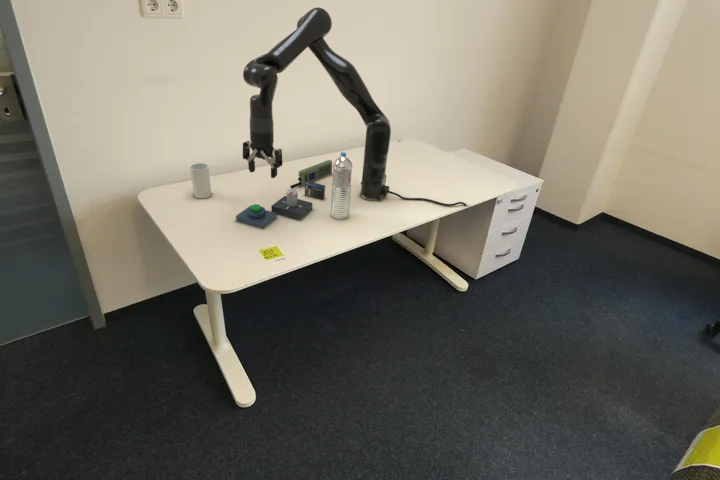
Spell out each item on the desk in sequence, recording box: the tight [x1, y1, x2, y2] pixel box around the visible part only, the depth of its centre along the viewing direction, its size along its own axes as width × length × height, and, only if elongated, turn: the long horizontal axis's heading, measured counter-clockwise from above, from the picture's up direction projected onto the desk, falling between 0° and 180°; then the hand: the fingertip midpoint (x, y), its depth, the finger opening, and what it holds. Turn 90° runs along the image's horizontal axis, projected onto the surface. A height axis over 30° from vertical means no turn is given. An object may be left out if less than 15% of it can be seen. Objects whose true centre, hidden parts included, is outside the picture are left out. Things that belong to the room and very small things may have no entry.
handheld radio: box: [289, 159, 333, 190], centre depth 184 cm, size 7×3×25 cm
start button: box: [250, 203, 262, 213], centre depth 152 cm, size 4×4×2 cm
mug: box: [189, 162, 212, 199], centre depth 165 cm, size 10×7×12 cm, turn 46°
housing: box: [235, 205, 277, 230], centre depth 153 cm, size 11×9×4 cm
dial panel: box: [270, 195, 313, 221], centre depth 161 cm, size 12×10×3 cm
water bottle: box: [330, 151, 353, 220], centre depth 156 cm, size 7×7×25 cm
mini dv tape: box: [304, 181, 326, 201], centre depth 172 cm, size 8×2×6 cm, turn 68°
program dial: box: [286, 189, 299, 207], centre depth 159 cm, size 4×4×5 cm
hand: (262, 174), depth 148 cm, fingers open, 8 cm apart
